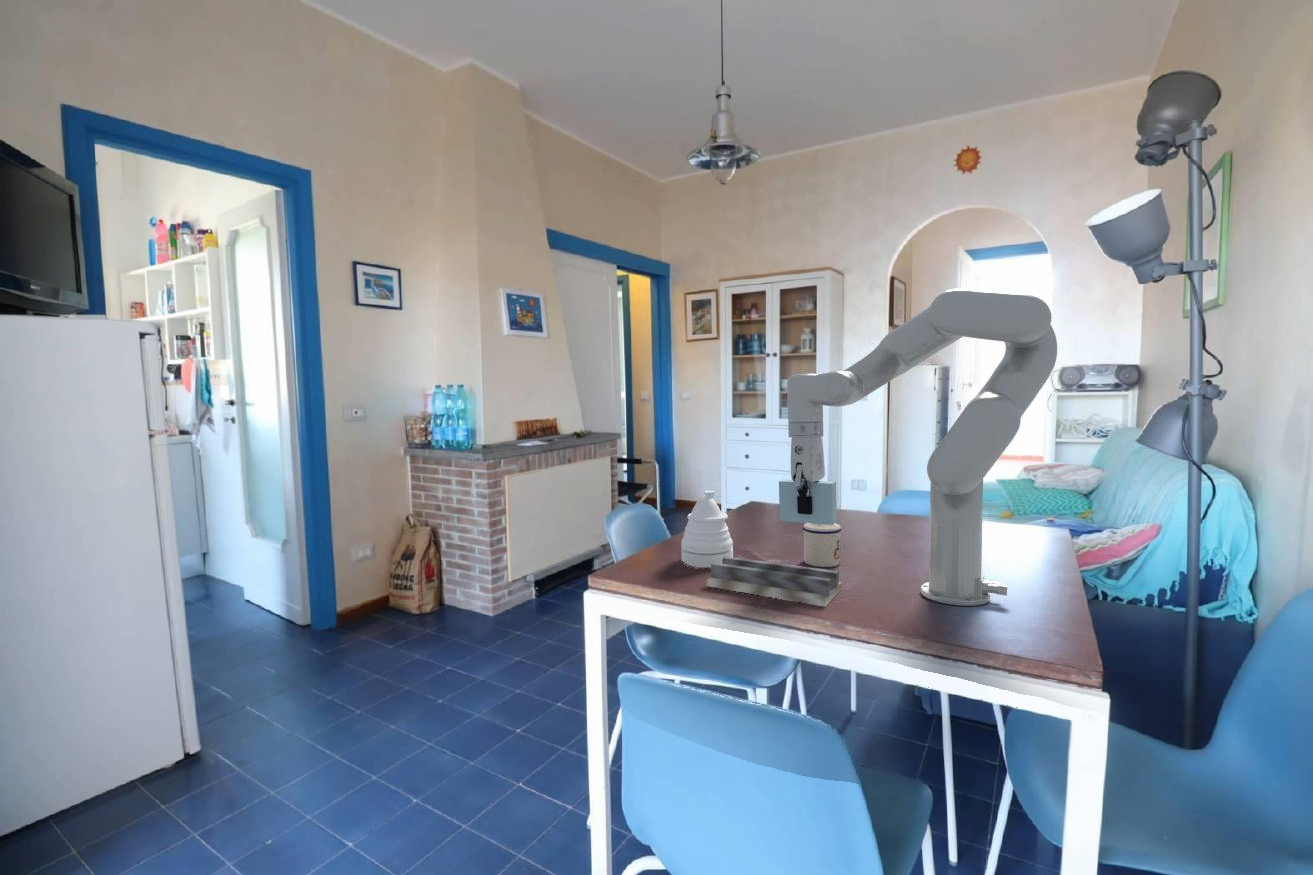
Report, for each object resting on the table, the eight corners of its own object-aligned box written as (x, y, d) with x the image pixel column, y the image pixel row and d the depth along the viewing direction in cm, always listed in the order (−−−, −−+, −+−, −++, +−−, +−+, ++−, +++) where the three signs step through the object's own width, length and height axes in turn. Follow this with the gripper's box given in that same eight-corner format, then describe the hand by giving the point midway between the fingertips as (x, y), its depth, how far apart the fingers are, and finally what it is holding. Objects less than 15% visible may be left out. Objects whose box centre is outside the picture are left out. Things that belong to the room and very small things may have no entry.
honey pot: (742, 564, 151) (741, 491, 149) (694, 571, 146) (693, 496, 144) (718, 552, 163) (717, 484, 161) (673, 558, 158) (671, 488, 156)
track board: (841, 589, 131) (841, 568, 130) (825, 606, 121) (825, 584, 120) (729, 572, 144) (729, 553, 144) (706, 587, 134) (706, 566, 134)
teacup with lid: (843, 568, 145) (843, 519, 144) (803, 567, 147) (803, 519, 146) (839, 554, 157) (838, 509, 156) (802, 553, 159) (802, 509, 158)
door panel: (836, 522, 136) (835, 481, 135) (832, 524, 133) (831, 483, 133) (784, 518, 142) (783, 479, 141) (779, 520, 140) (778, 481, 139)
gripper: (810, 432, 127) (812, 520, 129) (833, 427, 141) (834, 506, 142) (776, 432, 131) (778, 518, 133) (801, 427, 145) (803, 504, 146)
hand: (807, 511), depth 137 cm, fingers closed on door panel, 3 cm apart
